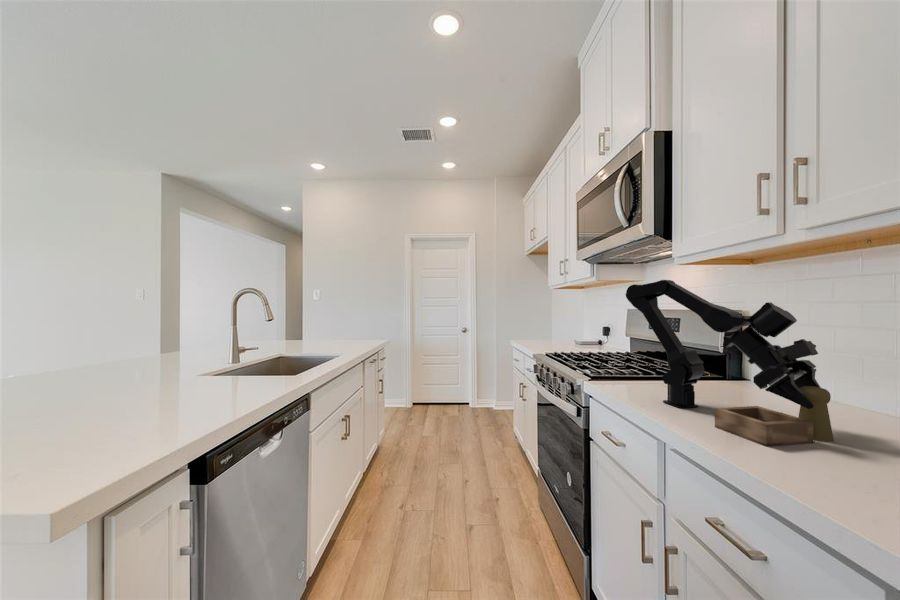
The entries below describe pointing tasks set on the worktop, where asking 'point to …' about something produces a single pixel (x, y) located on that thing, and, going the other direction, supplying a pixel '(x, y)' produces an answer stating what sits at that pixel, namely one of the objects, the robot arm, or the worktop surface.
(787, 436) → the socket block
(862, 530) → the worktop surface
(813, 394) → the cork
